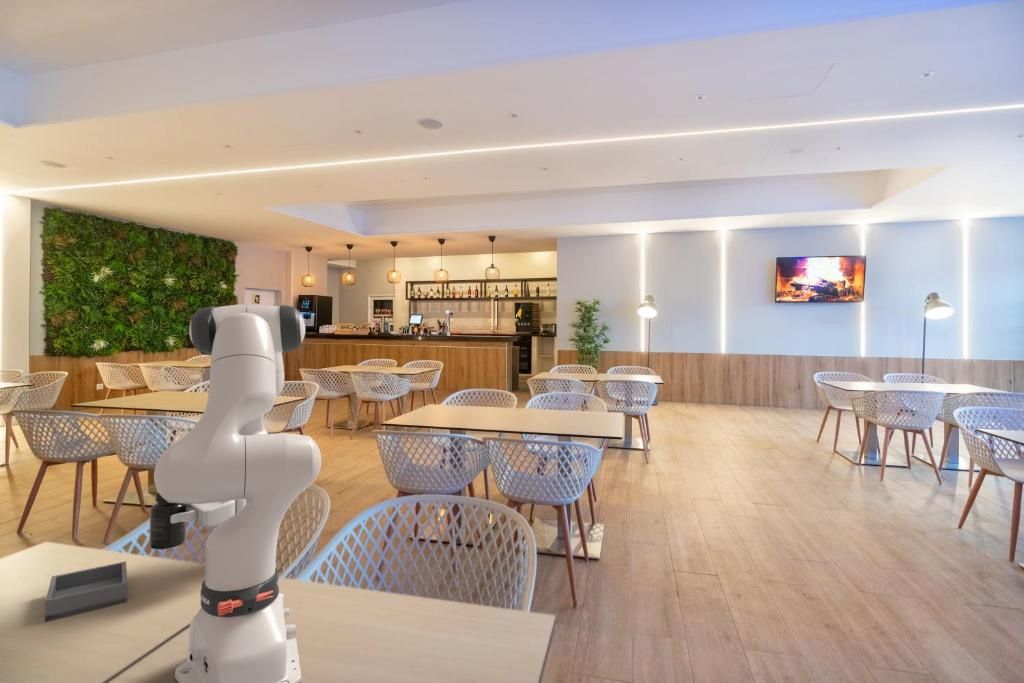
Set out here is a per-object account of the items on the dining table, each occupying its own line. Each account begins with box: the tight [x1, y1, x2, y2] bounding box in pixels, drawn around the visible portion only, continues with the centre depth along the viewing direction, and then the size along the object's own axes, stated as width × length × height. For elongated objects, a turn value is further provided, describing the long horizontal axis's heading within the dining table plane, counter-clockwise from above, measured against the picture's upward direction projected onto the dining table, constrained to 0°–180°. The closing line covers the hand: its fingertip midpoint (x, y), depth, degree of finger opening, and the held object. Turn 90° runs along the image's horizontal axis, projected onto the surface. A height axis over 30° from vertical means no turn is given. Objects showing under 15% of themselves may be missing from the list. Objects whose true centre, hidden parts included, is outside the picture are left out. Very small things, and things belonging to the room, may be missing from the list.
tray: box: [44, 560, 128, 623], centre depth 106 cm, size 13×13×4 cm
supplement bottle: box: [148, 491, 187, 550], centre depth 112 cm, size 7×7×12 cm
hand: (163, 514), depth 112 cm, fingers closed on supplement bottle, 7 cm apart
